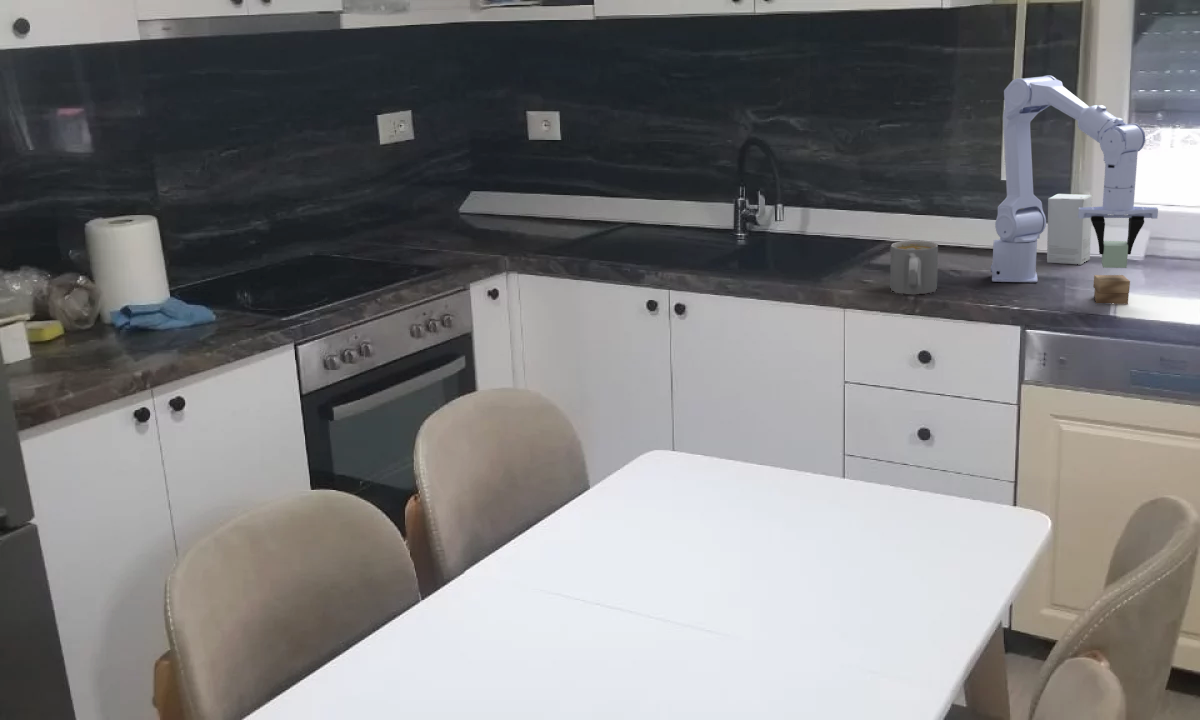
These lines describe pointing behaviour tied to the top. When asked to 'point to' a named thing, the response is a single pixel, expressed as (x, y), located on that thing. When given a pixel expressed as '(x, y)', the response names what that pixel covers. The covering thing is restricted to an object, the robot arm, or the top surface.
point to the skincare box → (1068, 229)
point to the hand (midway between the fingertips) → (1114, 253)
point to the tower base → (1111, 297)
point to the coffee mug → (913, 267)
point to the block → (1115, 254)
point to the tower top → (1111, 284)
